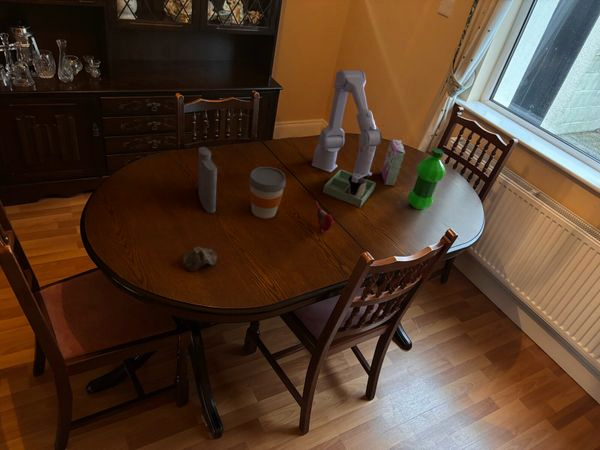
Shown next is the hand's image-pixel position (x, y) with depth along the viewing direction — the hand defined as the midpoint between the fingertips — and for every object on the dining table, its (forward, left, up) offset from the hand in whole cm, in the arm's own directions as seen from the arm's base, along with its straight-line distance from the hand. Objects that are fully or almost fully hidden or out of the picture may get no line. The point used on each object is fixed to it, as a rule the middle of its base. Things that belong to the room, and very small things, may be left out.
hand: (356, 190), depth 175 cm
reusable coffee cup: (-24, -30, -4) cm, 39 cm away
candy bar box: (+6, +25, -4) cm, 26 cm away
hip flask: (-44, -38, -4) cm, 58 cm away
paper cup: (0, 0, -3) cm, 3 cm away
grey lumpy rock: (-25, -66, -4) cm, 71 cm away
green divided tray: (-4, +4, -4) cm, 7 cm away
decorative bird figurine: (-3, -26, -4) cm, 27 cm away
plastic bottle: (+23, +13, -4) cm, 27 cm away
